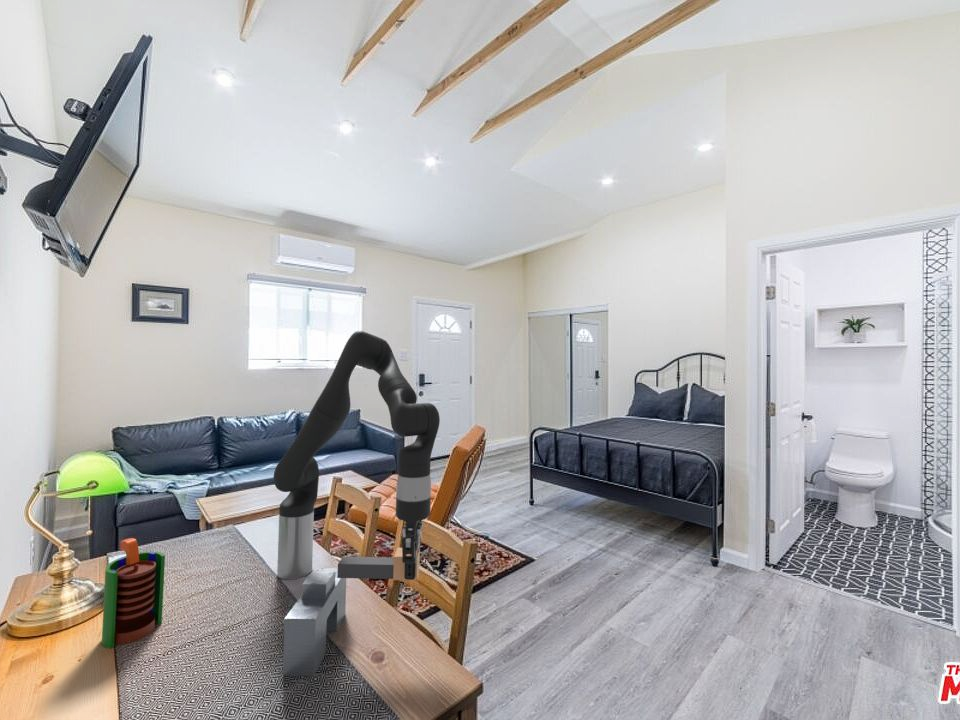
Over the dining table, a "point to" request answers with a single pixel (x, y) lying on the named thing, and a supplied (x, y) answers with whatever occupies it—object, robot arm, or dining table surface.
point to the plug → (376, 567)
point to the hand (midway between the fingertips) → (411, 572)
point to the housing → (313, 621)
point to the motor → (132, 595)
